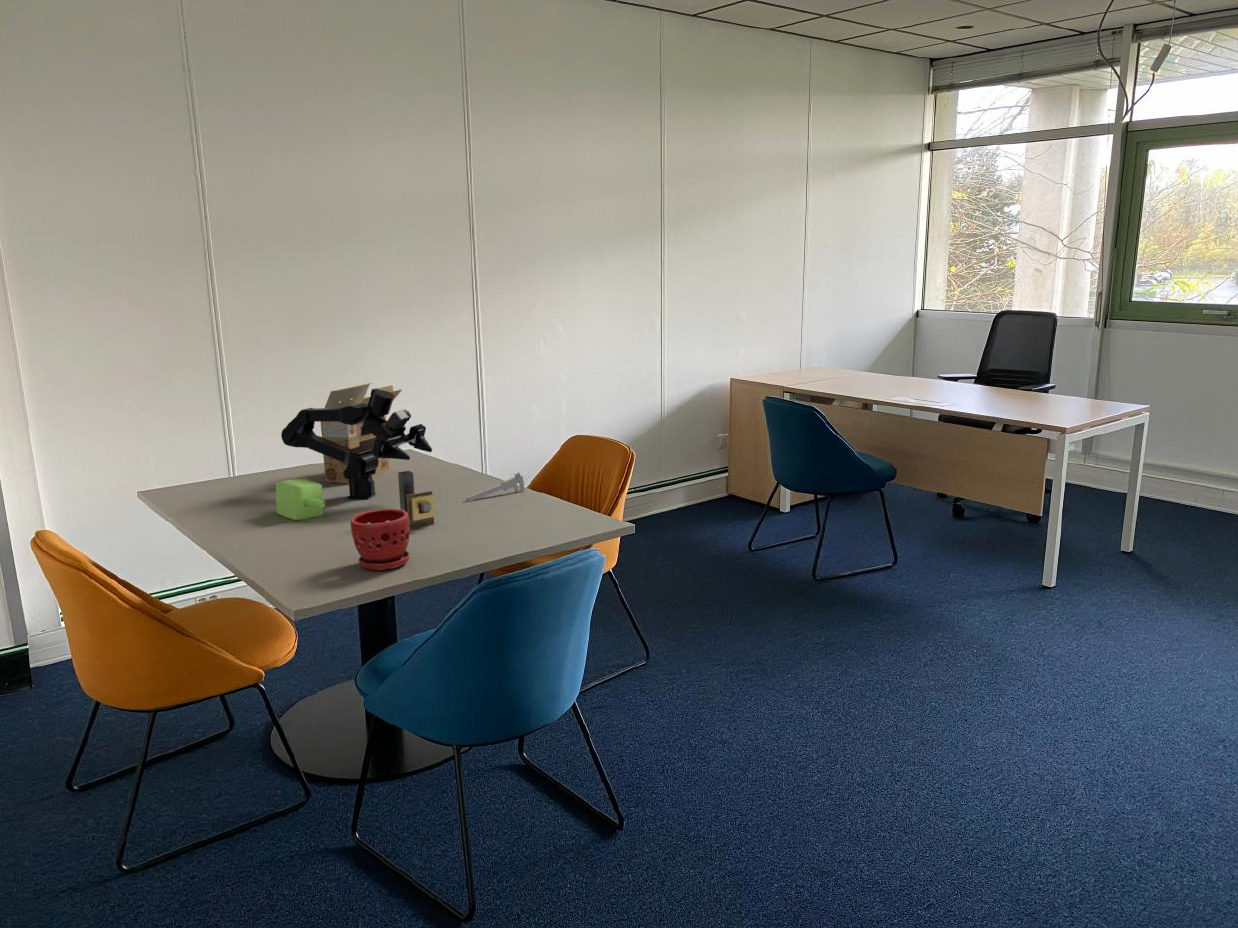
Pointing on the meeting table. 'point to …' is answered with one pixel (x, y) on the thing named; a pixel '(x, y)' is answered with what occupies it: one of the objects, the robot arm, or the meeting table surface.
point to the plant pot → (381, 538)
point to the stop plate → (422, 521)
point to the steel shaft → (409, 491)
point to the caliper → (500, 487)
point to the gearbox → (299, 499)
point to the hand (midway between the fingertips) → (420, 454)
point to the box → (349, 430)
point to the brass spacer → (415, 508)
